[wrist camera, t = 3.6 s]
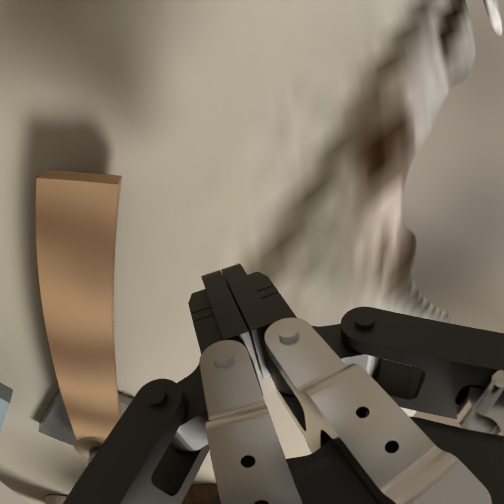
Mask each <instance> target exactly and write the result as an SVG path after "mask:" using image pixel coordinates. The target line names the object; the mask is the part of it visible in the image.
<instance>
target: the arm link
mask: <svg viewBox="0 0 504 504" xmlns="http://www.w3.org/2000/svg"><path fill="white" fill-rule="evenodd" d="M121 180H122V176H117V175H107V174H96V173H84V172H71V171H57V170H49V171H47V172H45V173H44V174H42V175H41V176H39V177H38V178H37V179H36V248H37V263H38V275H39V285H40V293H41V301H42V308H43V315H44V321H45V326H46V332H47V337H48V342H49V347H50V352H51V356H52V360H53V365H54V369H55V373H56V377H57V380H58V384H59V388H60V391H61V395H62V398H63V401H64V404H65V408H66V411H67V414H68V417H69V420H70V423H71V425H72V428H73V431H74V434H75V441H74V447H75V449H76V450H77V452H78V453H80V454H81V455H83V456H84V457H86V458H89V449H91V448H93V447H101V446H102V444H103V443H104V441H105V440H106V438H107V437H108V435H109V434H110V432H111V431H112V429H113V428H114V426H115V425H116V423H117V422H118V420H119V419H120V418H121V416H120V408H119V399H118V389H117V377H116V364H115V346H114V261H115V242H116V228H117V216H118V206H119V197H120V188H121Z"/></svg>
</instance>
